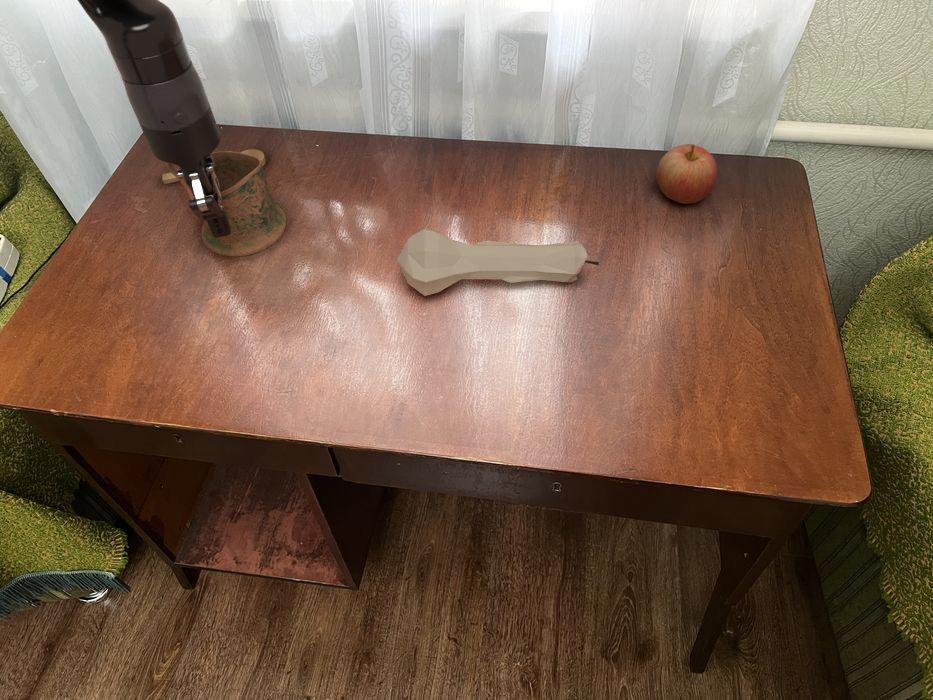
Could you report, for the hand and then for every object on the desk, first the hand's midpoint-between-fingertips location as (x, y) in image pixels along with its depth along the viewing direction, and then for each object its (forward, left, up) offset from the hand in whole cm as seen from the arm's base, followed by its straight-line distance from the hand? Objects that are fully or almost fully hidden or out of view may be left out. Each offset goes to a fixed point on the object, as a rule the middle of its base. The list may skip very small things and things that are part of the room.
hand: (222, 232), depth 87 cm
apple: (+62, -7, -6) cm, 62 cm away
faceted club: (+32, -15, -6) cm, 35 cm away
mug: (0, +10, -6) cm, 11 cm away
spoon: (0, +22, -6) cm, 23 cm away
